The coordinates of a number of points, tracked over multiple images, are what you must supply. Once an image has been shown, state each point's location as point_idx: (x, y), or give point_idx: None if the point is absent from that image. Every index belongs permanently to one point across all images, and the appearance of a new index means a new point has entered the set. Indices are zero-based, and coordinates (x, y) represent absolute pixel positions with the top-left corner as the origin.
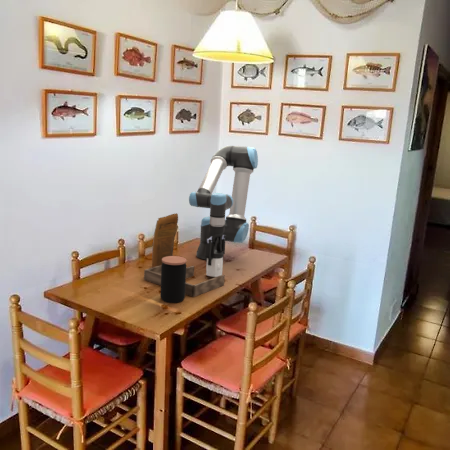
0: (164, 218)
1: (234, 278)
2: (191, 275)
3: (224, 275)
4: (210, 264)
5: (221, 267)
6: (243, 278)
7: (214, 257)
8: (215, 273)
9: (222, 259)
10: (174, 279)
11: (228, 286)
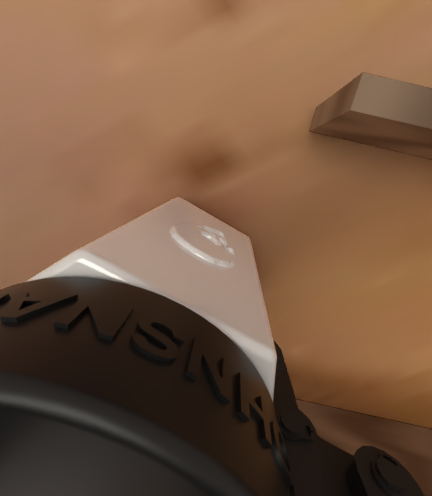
0: None
1: (91, 107)
2: None
3: (366, 73)
4: (278, 351)
5: (170, 217)
6: (31, 26)
7: (272, 411)
8: (246, 243)
9: (107, 245)
10: None
11: (326, 52)
